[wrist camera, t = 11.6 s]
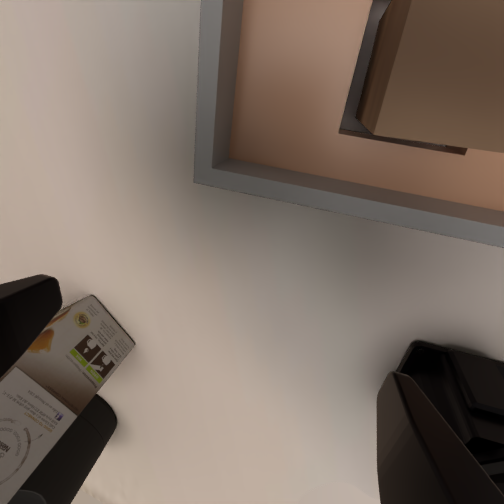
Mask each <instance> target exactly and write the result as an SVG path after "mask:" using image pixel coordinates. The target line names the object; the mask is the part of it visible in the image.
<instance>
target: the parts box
mask: <svg viewBox="0 0 504 504" xmlns="http://www.w3.org/2000/svg"><path fill="white" fill-rule="evenodd" d="M372 1H373V0H201V13H200V37H199V62H198V87H197V111H196V136H195V161H194V183H198V184H203V185H207V186H212V187H217V188H222V189H226V190H231V191H236V192H241V193H245V194H250V195H255V196H260V197H264V198H269V199H274V200H279V201H283V202H288V203H293V204H298V205H302V206H307V207H312V208H317V209H321V210H326V211H331V212H336V213H341V214H345V215H350V216H355V217H360V218H364V219H369V220H374V221H379V222H383V223H388V224H393V225H398V226H402V227H407V228H412V229H417V230H421V231H426V232H431V233H436V234H440V235H445V236H450V237H455V238H459V239H464V240H469V241H474V242H479V243H483V244H488V245H493V246H498V247H502V248H504V153H499V152H492V151H485V150H478V149H470V148H463V147H456V146H449V145H446V147H443V146H437V145H431V144H425V143H419V142H413V141H407V140H402V139H396V138H390V137H384V136H377V135H372V134H366V133H361V132H355V131H349V130H343V129H339V128H340V124H341V120H342V116H343V112H344V108H345V105H346V101H347V97H348V93H349V89H350V85H351V81H352V78H353V74H354V70H355V66H356V62H357V58H358V55H359V51H360V47H361V43H362V39H363V35H364V31H365V28H366V24H367V20H368V16H369V12H370V8H371V5H372Z"/></svg>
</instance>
